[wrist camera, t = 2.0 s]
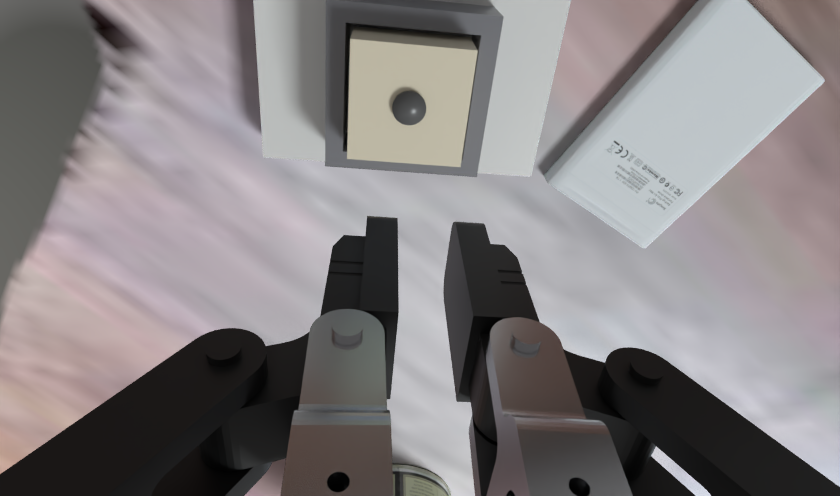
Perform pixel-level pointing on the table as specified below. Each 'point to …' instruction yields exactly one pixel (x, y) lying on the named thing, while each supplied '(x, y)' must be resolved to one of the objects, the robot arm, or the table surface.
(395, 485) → the coffee can
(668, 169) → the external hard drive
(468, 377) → the robot arm
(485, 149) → the button panel
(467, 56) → the button one
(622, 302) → the table surface
